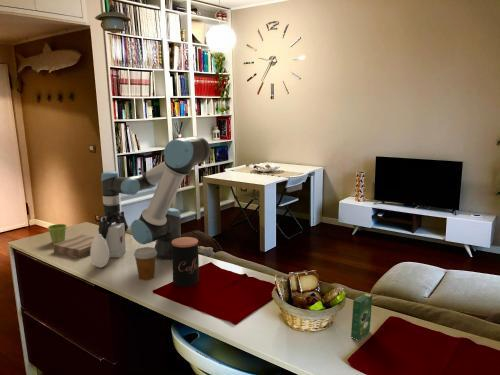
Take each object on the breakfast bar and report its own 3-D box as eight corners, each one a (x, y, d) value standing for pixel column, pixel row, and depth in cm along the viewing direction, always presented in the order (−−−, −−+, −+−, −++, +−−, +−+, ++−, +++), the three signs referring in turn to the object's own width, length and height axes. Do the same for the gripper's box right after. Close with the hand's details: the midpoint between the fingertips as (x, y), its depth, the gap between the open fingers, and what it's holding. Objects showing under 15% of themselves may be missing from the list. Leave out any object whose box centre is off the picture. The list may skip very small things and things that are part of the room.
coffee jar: (177, 290, 165) (176, 246, 161) (169, 280, 174) (168, 239, 171) (202, 284, 170) (202, 242, 166) (193, 275, 179) (192, 235, 176)
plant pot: (63, 245, 217) (61, 229, 215) (45, 244, 217) (43, 228, 215) (71, 239, 226) (69, 224, 224) (53, 239, 226) (52, 223, 224)
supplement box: (120, 257, 199) (118, 227, 196) (102, 257, 199) (99, 227, 196) (126, 251, 208) (124, 222, 205) (108, 251, 208) (106, 222, 205)
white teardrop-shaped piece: (88, 267, 188) (85, 228, 184) (104, 262, 193) (102, 225, 190) (96, 271, 182) (94, 232, 179) (113, 266, 188) (110, 228, 185)
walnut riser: (108, 246, 215) (107, 239, 214) (80, 258, 199) (79, 250, 198) (82, 241, 222) (81, 234, 221) (53, 252, 206) (53, 244, 205)
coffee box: (362, 328, 137) (364, 291, 135) (370, 331, 135) (373, 294, 133) (350, 338, 131) (352, 299, 129) (358, 341, 129) (360, 302, 127)
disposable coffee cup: (162, 274, 180) (161, 248, 177) (150, 283, 171) (148, 255, 169) (143, 271, 183) (142, 245, 181) (130, 280, 174) (129, 252, 172)
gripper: (122, 198, 211) (124, 239, 215) (86, 208, 190) (89, 253, 194) (134, 199, 208) (136, 241, 212) (98, 210, 187) (101, 256, 191)
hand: (114, 247), depth 203 cm, fingers closed on supplement box, 11 cm apart
